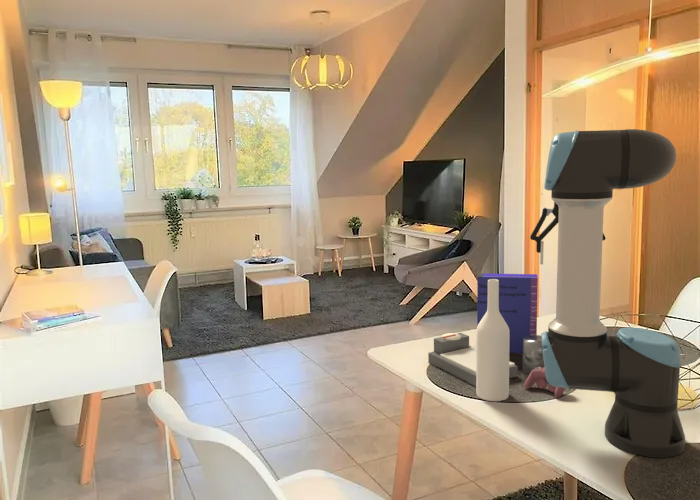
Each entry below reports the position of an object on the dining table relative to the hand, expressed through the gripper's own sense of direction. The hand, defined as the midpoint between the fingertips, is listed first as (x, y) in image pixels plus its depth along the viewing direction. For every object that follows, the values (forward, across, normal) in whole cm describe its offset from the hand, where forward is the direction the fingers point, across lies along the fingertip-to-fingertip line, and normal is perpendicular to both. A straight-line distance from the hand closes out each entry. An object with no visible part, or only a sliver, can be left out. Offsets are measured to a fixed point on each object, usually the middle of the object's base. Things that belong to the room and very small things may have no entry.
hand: (566, 264), depth 168 cm
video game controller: (+28, +6, +27) cm, 40 cm away
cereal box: (+28, +17, -2) cm, 33 cm away
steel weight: (+28, +8, +13) cm, 32 cm away
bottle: (+28, +19, +33) cm, 47 cm away
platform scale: (+28, +26, +16) cm, 41 cm away
